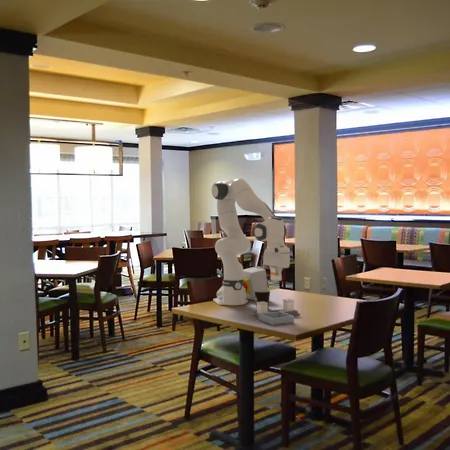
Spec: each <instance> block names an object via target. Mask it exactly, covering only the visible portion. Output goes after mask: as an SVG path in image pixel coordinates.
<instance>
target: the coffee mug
mask: <svg viewBox="0 0 450 450" xmlns="http://www.w3.org/2000/svg"><path fill="white" fill-rule="evenodd" d="M270 294H271V290H269V289H268V290H255V299H256V301H255V306H256V307H255V308H256V309H257V302H262V301H264V302H267V303H268V307H269V305H270V304H269V303H270V296H271V295H270Z"/></svg>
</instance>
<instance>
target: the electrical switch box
mask: <svg viewBox="0 0 450 450" xmlns="http://www.w3.org/2000/svg"><path fill="white" fill-rule="evenodd" d="M266 272H267V271H266V269H265V268H263V267H261V266H259V265H258V266H253V267H249V268H245V269H244V268H243V279H244V285H243V287H244V288H245V291H246V300H251V301H253V302H256V299H255V290H269V288H268V279H267V273H266Z"/></svg>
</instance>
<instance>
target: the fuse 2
mask: <svg viewBox="0 0 450 450" xmlns="http://www.w3.org/2000/svg"><path fill="white" fill-rule="evenodd" d="M282 304H283V305H282V307H283V308H282V309H283V310H284V311H294V310H295V299H293V298H284V299H283V298H282Z"/></svg>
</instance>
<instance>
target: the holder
mask: <svg viewBox="0 0 450 450" xmlns="http://www.w3.org/2000/svg"><path fill="white" fill-rule="evenodd" d="M279 311H281V312H284V313H286V314H289V315H292V316H294V317H295V316H300V315H301V313H299V310H297V309H294V311H284V310H283V308H281V309H272V310H268V313H270V312H279ZM250 317H251V318H253V319H254V320H255V319H256V320H257V321H259V314H258V313H257V311H253V312H252V314H251V315H250Z"/></svg>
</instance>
